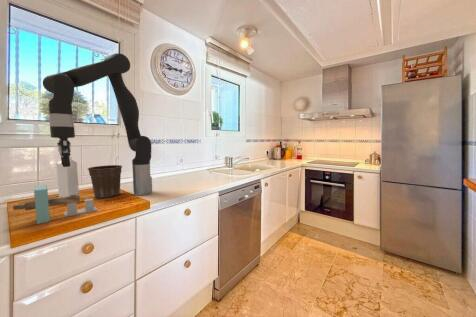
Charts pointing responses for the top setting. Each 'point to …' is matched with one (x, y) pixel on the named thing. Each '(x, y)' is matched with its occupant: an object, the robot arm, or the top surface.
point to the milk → (67, 179)
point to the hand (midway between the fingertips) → (65, 165)
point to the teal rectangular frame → (41, 204)
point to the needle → (49, 202)
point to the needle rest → (88, 208)
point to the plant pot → (105, 180)
